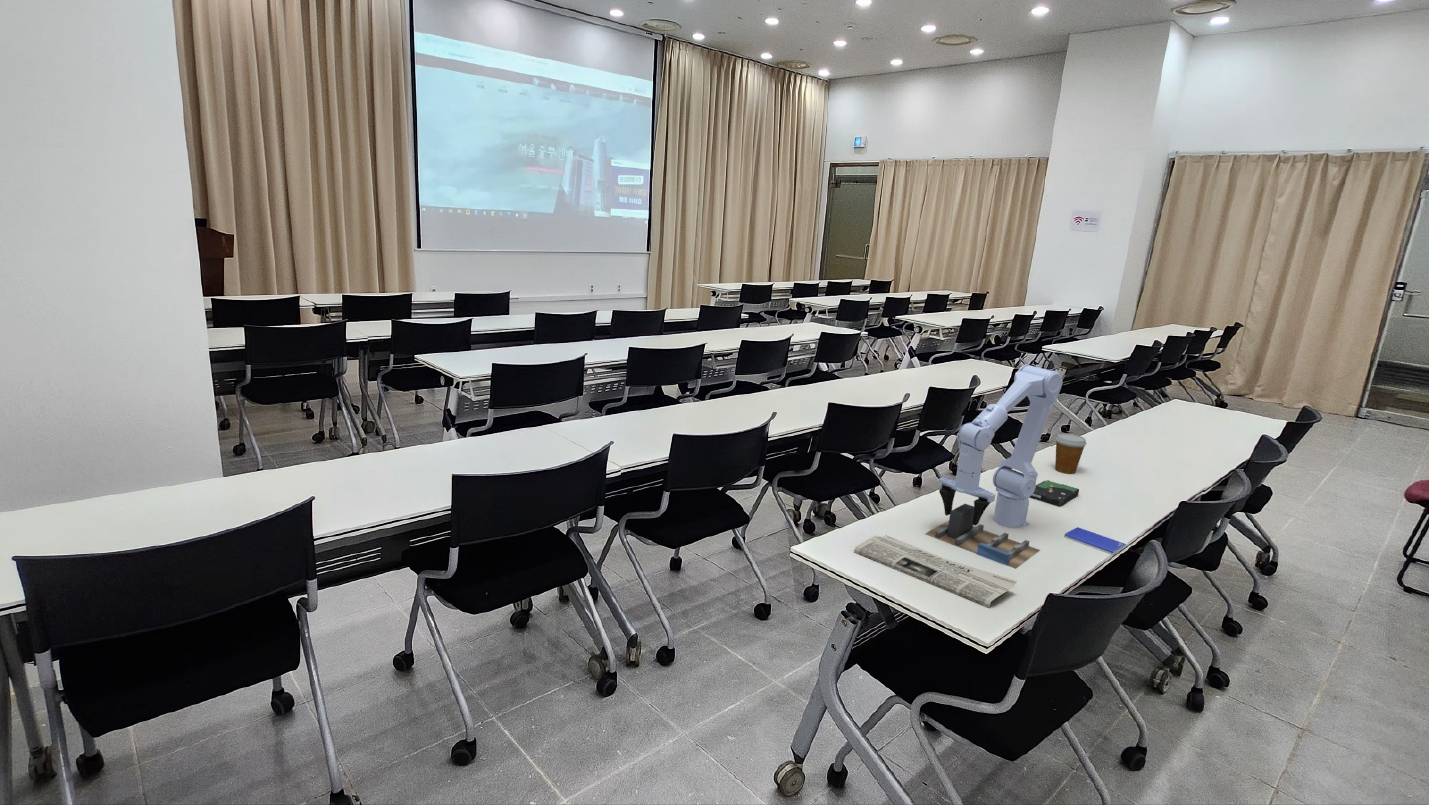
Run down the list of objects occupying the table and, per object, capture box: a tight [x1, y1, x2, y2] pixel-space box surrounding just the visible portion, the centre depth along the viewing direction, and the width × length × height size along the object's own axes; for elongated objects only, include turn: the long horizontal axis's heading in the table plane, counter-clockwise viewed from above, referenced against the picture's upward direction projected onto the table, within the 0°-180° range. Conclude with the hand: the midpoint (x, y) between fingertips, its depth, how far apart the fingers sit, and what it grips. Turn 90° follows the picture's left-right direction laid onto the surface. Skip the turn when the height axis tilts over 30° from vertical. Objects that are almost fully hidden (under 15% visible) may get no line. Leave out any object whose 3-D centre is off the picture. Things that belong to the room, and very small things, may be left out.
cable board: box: [924, 520, 1041, 569], centre depth 180 cm, size 15×24×3 cm, turn 45°
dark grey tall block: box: [947, 503, 974, 539], centre depth 183 cm, size 8×3×7 cm, turn 135°
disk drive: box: [1028, 480, 1080, 508], centre depth 216 cm, size 10×3×15 cm
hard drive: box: [1063, 526, 1127, 556], centre depth 185 cm, size 2×8×12 cm
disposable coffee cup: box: [1054, 432, 1087, 475], centre depth 238 cm, size 10×10×12 cm
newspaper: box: [853, 534, 1018, 609], centre depth 165 cm, size 35×12×4 cm, turn 47°
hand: (961, 519), depth 183 cm, fingers open, 7 cm apart
